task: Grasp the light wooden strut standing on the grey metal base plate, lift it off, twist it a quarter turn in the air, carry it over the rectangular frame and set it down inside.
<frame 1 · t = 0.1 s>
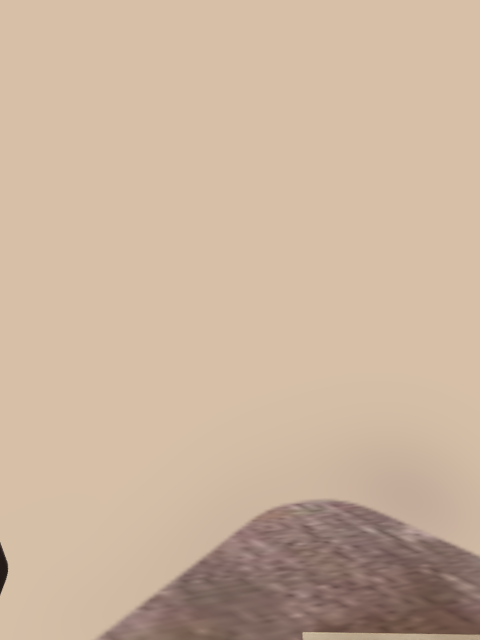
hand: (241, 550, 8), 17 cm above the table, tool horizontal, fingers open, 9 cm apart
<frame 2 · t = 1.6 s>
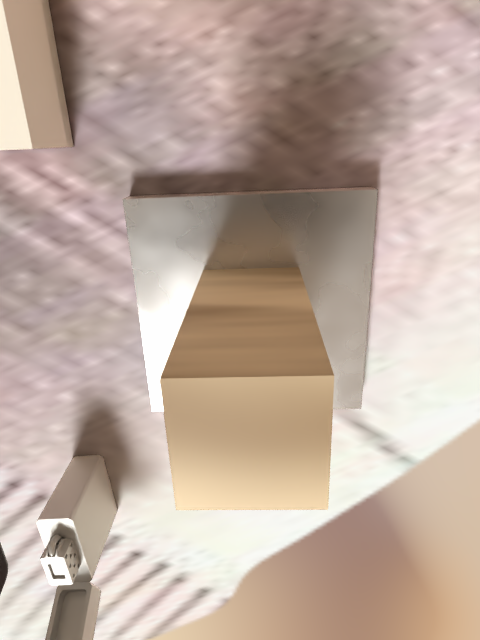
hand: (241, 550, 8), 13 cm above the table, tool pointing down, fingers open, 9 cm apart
lighter: (102, 502, 25), on the table
base plate: (252, 304, 20), on the table
strut: (252, 313, 19), point 1 cm above the table, touching base plate
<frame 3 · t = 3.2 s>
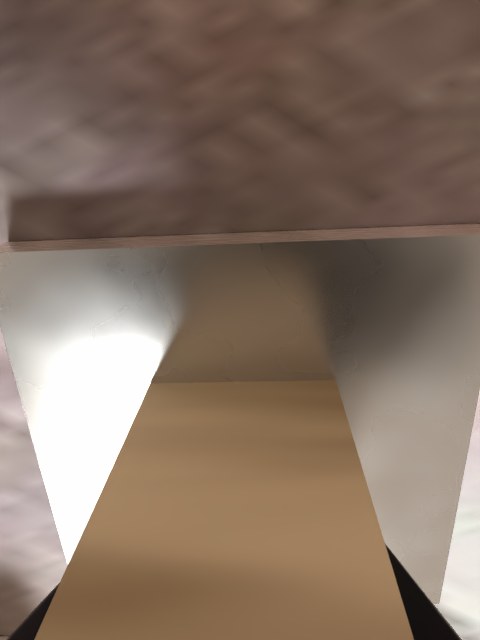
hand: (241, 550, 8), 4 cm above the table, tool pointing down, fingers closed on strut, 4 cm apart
base plate: (247, 429, 11), on the table
strut: (245, 456, 10), point 1 cm above the table, touching base plate, gripper
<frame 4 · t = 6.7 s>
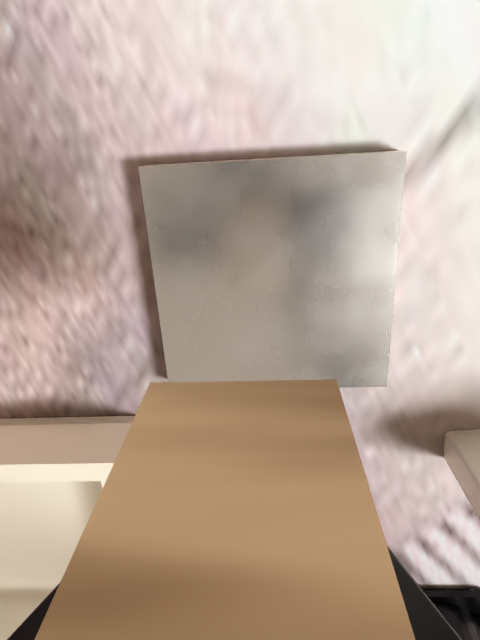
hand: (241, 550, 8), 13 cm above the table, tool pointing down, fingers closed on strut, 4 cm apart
base plate: (272, 279, 19), on the table
strut: (246, 455, 10), point 10 cm above the table, touching gripper
rectangular frame: (21, 518, 26), on the table
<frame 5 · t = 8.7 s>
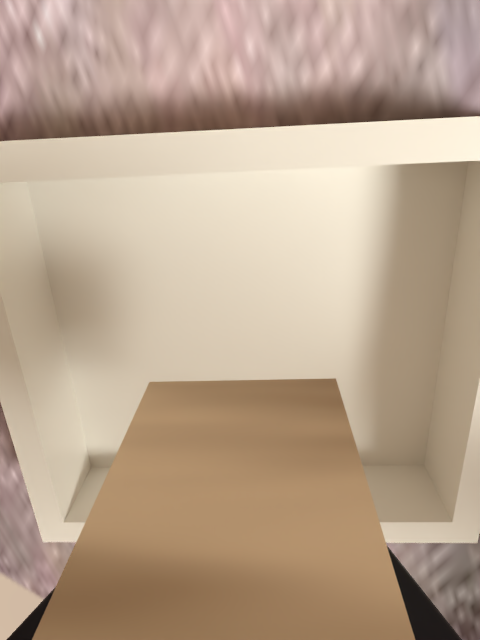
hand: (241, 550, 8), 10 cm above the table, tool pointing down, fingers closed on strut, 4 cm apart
strut: (245, 455, 10), point 7 cm above the table, touching gripper
rectangular frame: (248, 330, 17), on the table
when the fingers open (5 cm above the table, at t = 10.2 s): strut drops 1 cm, resting on rectangular frame.
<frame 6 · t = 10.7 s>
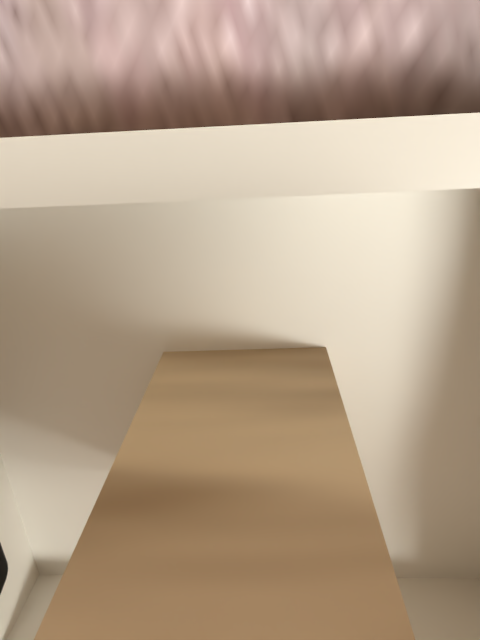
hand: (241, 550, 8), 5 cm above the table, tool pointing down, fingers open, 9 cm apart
strut: (247, 417, 12), point 1 cm above the table, touching rectangular frame
rectangular frame: (246, 405, 12), on the table
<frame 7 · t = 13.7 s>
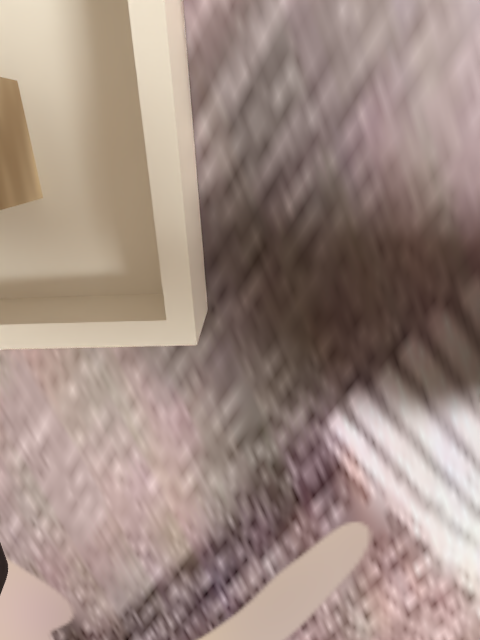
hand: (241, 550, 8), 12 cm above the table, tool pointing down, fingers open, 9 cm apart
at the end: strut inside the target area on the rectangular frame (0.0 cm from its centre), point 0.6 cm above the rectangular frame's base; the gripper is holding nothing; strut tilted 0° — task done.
